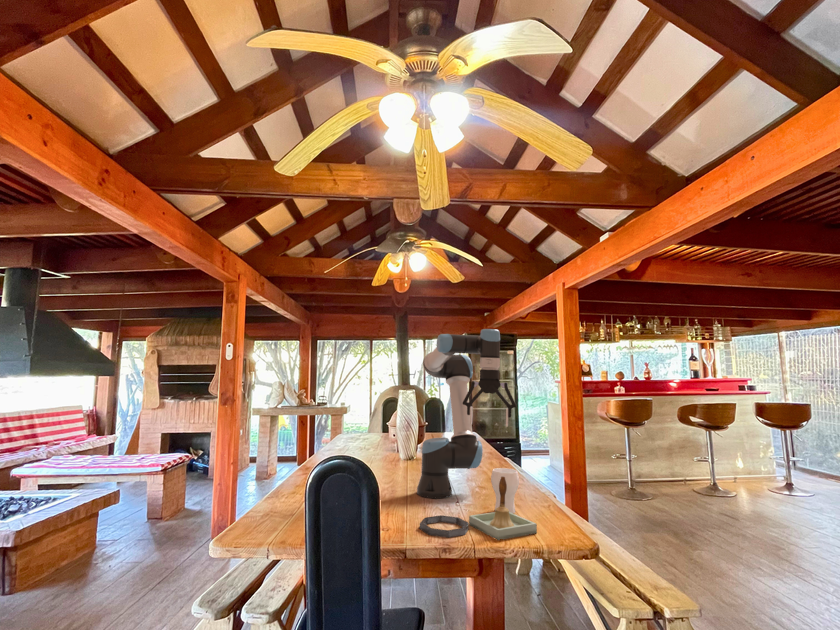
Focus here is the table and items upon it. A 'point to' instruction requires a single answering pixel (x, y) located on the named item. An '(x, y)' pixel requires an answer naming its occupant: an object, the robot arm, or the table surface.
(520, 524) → the green square tray
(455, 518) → the collar
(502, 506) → the hand bell
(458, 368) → the robot arm
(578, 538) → the table surface
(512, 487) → the cup
